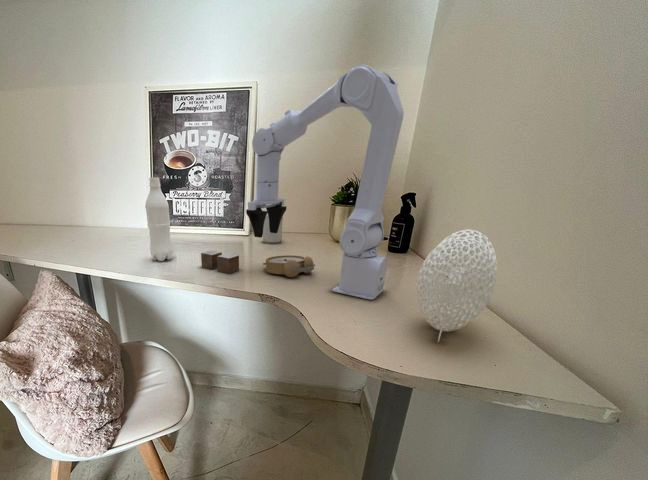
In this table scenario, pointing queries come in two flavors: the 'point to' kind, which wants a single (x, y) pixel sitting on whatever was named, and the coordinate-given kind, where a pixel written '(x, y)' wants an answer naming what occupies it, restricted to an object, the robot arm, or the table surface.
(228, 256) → the walnut block near
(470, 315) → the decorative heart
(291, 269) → the alarm clock
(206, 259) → the walnut block far
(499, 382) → the table surface
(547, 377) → the table surface
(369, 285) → the robot arm
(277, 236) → the can
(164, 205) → the water bottle
